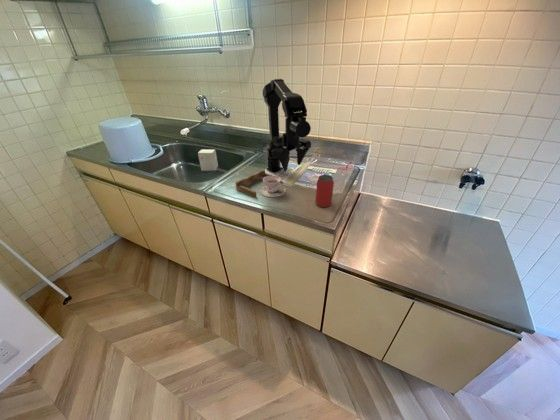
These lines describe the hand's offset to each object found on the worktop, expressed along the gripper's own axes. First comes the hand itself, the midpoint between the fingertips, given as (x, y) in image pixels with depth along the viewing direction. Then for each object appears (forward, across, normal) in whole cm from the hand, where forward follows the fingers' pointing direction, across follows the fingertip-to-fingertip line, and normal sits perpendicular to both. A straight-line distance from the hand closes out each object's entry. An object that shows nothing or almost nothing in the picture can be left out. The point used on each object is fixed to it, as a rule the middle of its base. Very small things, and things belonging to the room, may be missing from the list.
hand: (292, 167), depth 105 cm
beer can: (+12, -1, +16) cm, 20 cm away
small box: (+12, +8, -52) cm, 54 cm away
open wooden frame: (+12, +5, -16) cm, 20 cm away
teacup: (+12, +4, -8) cm, 15 cm away
